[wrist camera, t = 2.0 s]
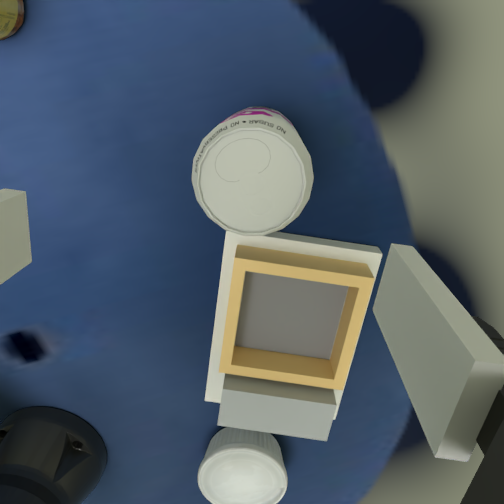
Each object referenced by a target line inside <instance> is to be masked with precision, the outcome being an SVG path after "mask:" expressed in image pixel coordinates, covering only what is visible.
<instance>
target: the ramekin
mask: <svg viewBox="0 0 504 504" xmlns="http://www.w3.org/2000/svg"><path fill="white" fill-rule="evenodd" d="M198 485H199V488H200V490H201V492H202V493H203V495H204V496H205V497H206V499H208V500H209V501H210V502H211V503H213V504H276V503H278V502H279V501H280V500H281V498H282V497H283V496H284V494H285V492H286V489H287V472H286V469H285V466H284V463H283V458H282V453H281V449H280V447H279V444H278V442H277V440H276V439H275V438H274V436H272V435H271V434H270V433H267V432H260V431H253V430H246V429H239V428H232V427H226V428H224V429H222V430H220V431H219V432H218V433H216V434H215V436H214V437H213V438H212V439H211V441H210V443H209V446H208V448H207V451H206V454H205V457H204V459H203V460H202V462H201V464H200V467H199V470H198Z"/></svg>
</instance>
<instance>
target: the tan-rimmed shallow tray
mask: <svg viewBox="0 0 504 504" xmlns="http://www.w3.org/2000/svg"><path fill="white" fill-rule="evenodd" d="M381 258H382V252H381V251H380V249H379V248H378V247H376V246H369V245H362V244H356V243H349V242H342V241H336V240H329V239H322V238H316V237H309V236H302V235H296V234H289V233H282V232H276V231H275V232H272V233H270V234H267V235H264V236H243V235H240V234H237V233H234V232H231V231H228V230H226V236H225V244H224V252H223V260H222V267H221V275H220V283H219V291H218V299H217V307H216V315H215V323H214V331H213V339H212V347H211V355H210V362H209V370H208V378H207V386H206V394H205V401H210V402H217V403H221V404H220V411H219V417H218V424H217V425H218V426H225V427H232V428H239V429H246V430H253V431H260V432H267V433H274V434H281V435H287V436H294V437H301V438H308V439H315V440H322V441H327V438H328V435H329V431H330V428H331V424H332V421H333V419H334V420H335V418H336V415H337V411H338V408H339V404H340V401H341V397H342V394H343V390H344V387H345V384H346V380H347V377H348V373H349V370H350V366H351V363H352V359H353V356H354V352H355V349H356V345H357V342H358V338H359V335H360V331H361V328H362V324H363V321H364V317H365V314H366V310H367V307H368V303H369V300H370V296H371V293H372V289H373V286H374V282H375V279H376V275H377V272H378V268H379V265H380V261H381Z"/></svg>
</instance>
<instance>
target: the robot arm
mask: <svg viewBox="0 0 504 504" xmlns="http://www.w3.org/2000/svg"><path fill="white" fill-rule="evenodd" d="M31 262H32V258H31V246H30V235H29V223H28V212H27V201H26V192H25V191H18V190H11V189H2V190H0V285H1V284H2V283H3V282H5V281H6V280H7V279H9V278H10V277H11V276H13V275H14V274H16V273H17V272H18V271H20V270H21V269H22V268H24V267H25V266H27V265H28V264H29V263H31ZM373 313H374V315H375V317H376V320H377V322H378V324H379V327H380V329H381V331H382V334H383V336H384V338H385V341H386V343H387V346H388V348H389V350H390V353H391V355H392V357H393V360H394V362H395V364H396V367H397V369H398V372H399V374H400V376H401V379H402V381H403V383H404V386H405V388H406V390H407V393H408V395H409V398H410V400H411V402H412V405H413V407H414V409H415V412H416V414H417V416H418V419H419V421H420V423H421V426H422V428H423V431H424V433H425V435H426V438H427V440H428V442H429V445H430V447H431V449H432V452H433V454H434V456H435V457H437V458H444V459H451V460H458V461H465V462H468V460H469V458H470V456H471V454H472V451H473V449H474V447H475V445H476V443H478V444H479V446H480V448H481V450H482V452H483V453H484V455H485V456H484V458H483V460H482V462H481V464H480V466H479V468H478V470H477V472H476V474H475V476H474V478H473V480H472V482H471V484H470V486H469V488H468V490H467V492H466V494H465V496H464V497H463V499H462V501H461V503H460V504H504V339H503V338H502V337H501V335H500V334H499V333H498V332H497V331H496V330H495V329H494V328H493V327H492V326H490V325H489V324H487V323H486V322H485V321H483V320H482V319H480V318H479V317H474V316H470V315H469V313H468V312H467V311H466V310H465V308H464V307H463V306H462V305H461V304H460V303H459V301H458V300H457V299H456V298H455V297H454V295H453V294H452V293H451V292H450V290H449V289H448V288H447V287H446V286H445V284H444V283H443V282H442V281H441V280H440V279H439V277H438V276H437V275H436V274H435V273H434V271H433V270H432V269H431V268H430V267H429V265H428V264H427V263H426V262H425V261H424V259H423V258H422V257H421V256H420V255H419V253H418V252H417V251H416V250H415V249H414V247H413V246H406V245H399V244H392V243H391V246H390V250H389V253H388V257H387V260H386V264H385V267H384V271H383V274H382V278H381V282H380V285H379V289H378V292H377V296H376V299H375V303H374V306H373ZM106 462H107V452H106V448H105V445H104V443H103V441H102V439H101V438H100V436H99V435H98V433H97V432H96V431H95V430H94V429H93V428H92V427H91V426H90V425H89V424H87V423H86V422H85V421H83V420H82V419H80V418H79V417H77V416H75V415H73V414H71V413H68V412H66V411H63V410H59V409H55V408H50V407H30V408H25V409H21V410H18V411H16V412H14V413H12V414H11V415H9V416H8V417H7V418H6V419H5V420H4V421H3V422H2V424H1V425H0V504H81V503H82V502H83V501H84V500H85V499H86V498H87V496H88V495H89V494H90V493H91V492H92V491H93V490H94V488H95V487H96V485H97V484H98V482H99V480H100V478H101V476H102V473H103V471H104V469H105V466H106Z"/></svg>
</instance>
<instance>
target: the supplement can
mask: <svg viewBox="0 0 504 504" xmlns="http://www.w3.org/2000/svg"><path fill="white" fill-rule="evenodd" d="M313 179H314V176H313V169H312V162H311V156H310V154H309V153H308V151H307V149H306V147H305V145H304V144H303V142H302V140H301V138H300V136H299V135H298V133H297V131H296V129H295V128H294V126H293V124H292V123H291V121H289V120H288V119H287V118H286V117H285V116H284V115H282V114H281V113H280V112H278V111H276V110H273V109H270V108H267V107H248V108H246V109H243V110H241V111H239V112H236V113H234V114H233V115H231V116H230V117H228V118H227V119H226V120H224V121H223V122H221V123H220V124H218V125H217V126H216V127H215V128H214V129H213V130H212V131H211V132H210V133H209V134H208V135H207V136H206V137H205V138H204V139H203V140H202V142H201V144H200V146H199V148H198V150H197V153H196V155H195V157H194V159H193V170H192V184H193V187H194V191H195V195H196V199H197V201H198V203H199V204H200V206H201V207H202V209H203V210H204V212H205V213H206V215H207V216H208V217H209V218H210V219H211V220H213V221H214V222H215V223H217V224H218V225H219V226H221V227H222V228H223V229H225V230H228V231H231V232H234V233H237V234H240V235H243V236H264V235H267V234H270V233H272V232H275V231H278V230H281V229H283V228H284V227H286V226H287V225H288V224H289V223H291V222H292V221H293V220H294V219H296V218H297V217H298V216H299V215H300V213H301V211H302V210H303V208H304V207H305V205H306V203H307V202H308V200H309V198H310V194H311V189H312V184H313Z"/></svg>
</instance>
